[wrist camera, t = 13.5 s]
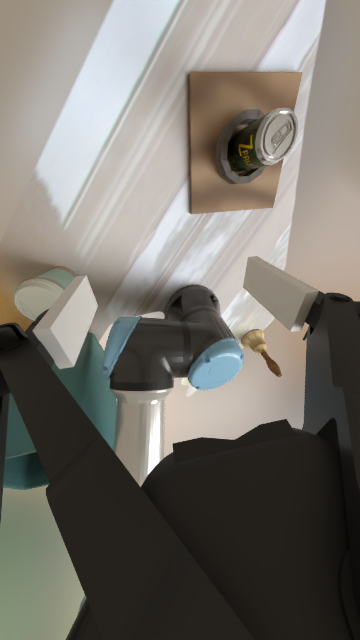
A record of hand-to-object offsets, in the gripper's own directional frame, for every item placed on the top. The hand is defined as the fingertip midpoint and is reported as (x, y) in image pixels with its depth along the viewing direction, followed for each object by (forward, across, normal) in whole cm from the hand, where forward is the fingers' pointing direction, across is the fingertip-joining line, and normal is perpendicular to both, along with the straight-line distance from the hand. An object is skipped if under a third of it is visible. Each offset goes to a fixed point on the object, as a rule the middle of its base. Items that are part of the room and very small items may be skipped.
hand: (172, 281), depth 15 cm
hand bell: (+29, -30, +38) cm, 56 cm away
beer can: (+28, -17, -11) cm, 34 cm away
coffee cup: (+29, +22, +9) cm, 37 cm away
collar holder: (+29, -17, -11) cm, 35 cm away
